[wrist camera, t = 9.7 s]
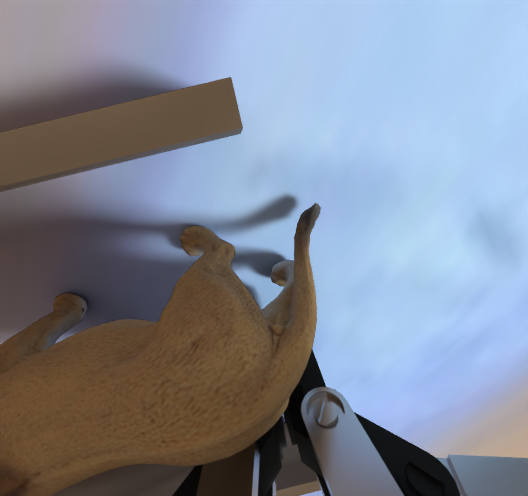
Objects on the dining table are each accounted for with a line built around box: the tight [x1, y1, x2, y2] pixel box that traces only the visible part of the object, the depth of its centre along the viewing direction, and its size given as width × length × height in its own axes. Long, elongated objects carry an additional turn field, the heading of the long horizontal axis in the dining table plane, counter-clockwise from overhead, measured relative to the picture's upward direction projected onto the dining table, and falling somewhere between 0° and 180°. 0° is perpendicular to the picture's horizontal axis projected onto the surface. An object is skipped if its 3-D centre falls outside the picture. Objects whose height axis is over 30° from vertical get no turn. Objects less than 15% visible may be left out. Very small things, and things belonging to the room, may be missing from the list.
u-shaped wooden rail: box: [0, 77, 321, 496], centre depth 10 cm, size 18×18×3 cm
